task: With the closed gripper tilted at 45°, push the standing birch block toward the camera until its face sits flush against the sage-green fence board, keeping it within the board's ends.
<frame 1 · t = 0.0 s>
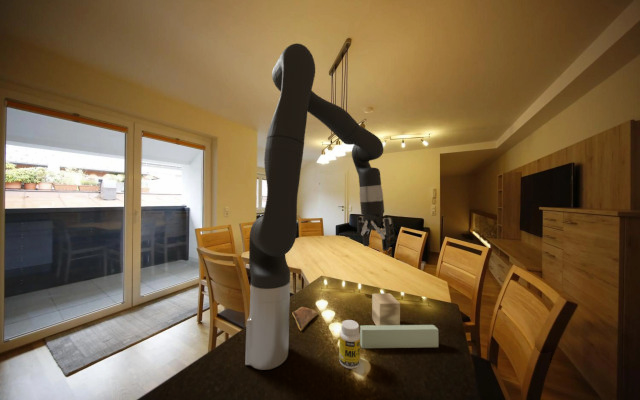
hand: (375, 247, 68), 22 cm above the table, tool pointing down, fingers open, 8 cm apart
sage fence board: (398, 345, 53), on the table
supplement bottle: (349, 362, 47), on the table
shard: (307, 321, 65), on the table
birch block: (385, 324, 63), on the table
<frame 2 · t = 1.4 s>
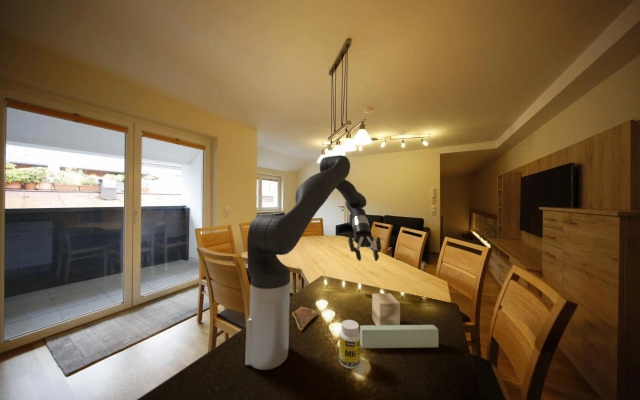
hand: (368, 259, 82), 15 cm above the table, tool tilted 45°, fingers open, 6 cm apart
nothing on the table moved.
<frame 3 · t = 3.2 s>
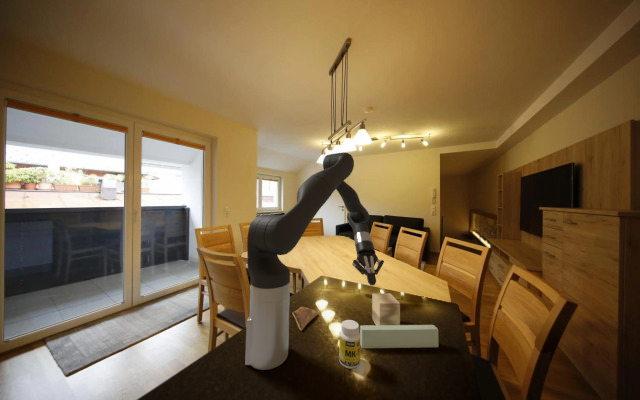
hand: (372, 284, 75), 8 cm above the table, tool tilted 45°, fingers closed
nothing on the table moved.
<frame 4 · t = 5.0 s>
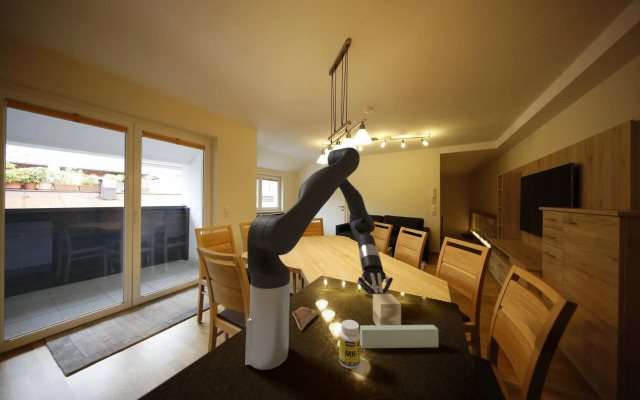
hand: (381, 306, 66), 4 cm above the table, tool tilted 45°, fingers closed
birch block: (386, 325, 62), on the table, touching gripper
everything else where it was.
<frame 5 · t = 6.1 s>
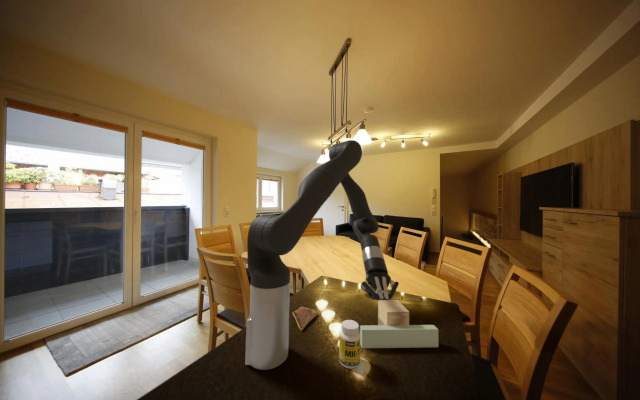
hand: (386, 313, 62), 4 cm above the table, tool tilted 45°, fingers closed
birch block: (392, 334, 58), on the table, touching gripper, sage fence board
everything else where it was.
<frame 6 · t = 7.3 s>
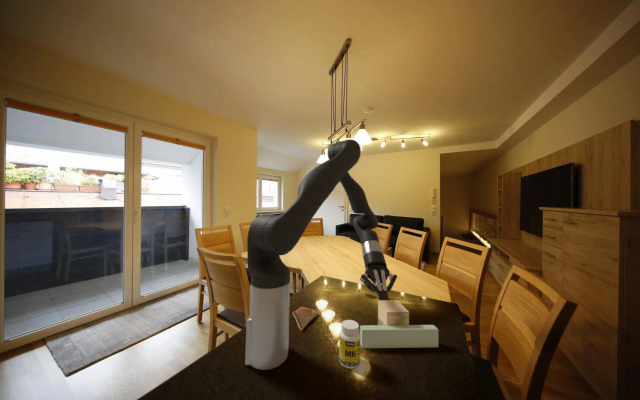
hand: (385, 304, 63), 6 cm above the table, tool tilted 45°, fingers closed
birch block: (392, 334, 58), on the table
everything else where it was.
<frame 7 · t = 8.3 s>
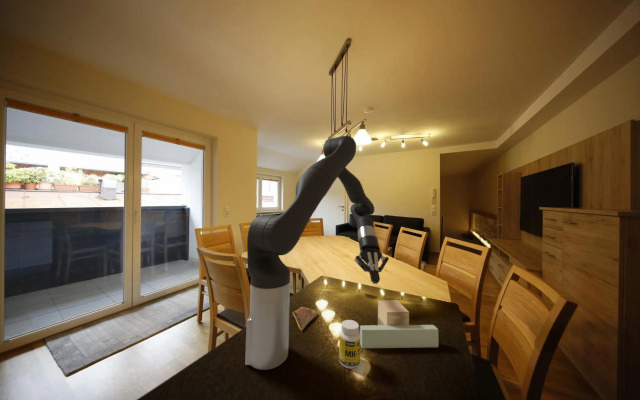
hand: (376, 282, 70), 10 cm above the table, tool tilted 40°, fingers closed
nothing on the table moved.
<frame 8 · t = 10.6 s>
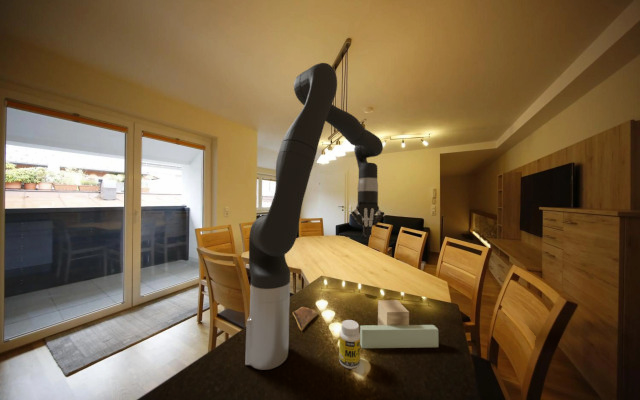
hand: (367, 236, 77), 25 cm above the table, tool pointing down, fingers closed
nothing on the table moved.
at the end: birch block inside the target area on the table beside the sage fence board (0.5 cm from its centre), on the table; birch block tilted 0°; birch block moved 4.9 cm from its start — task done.
